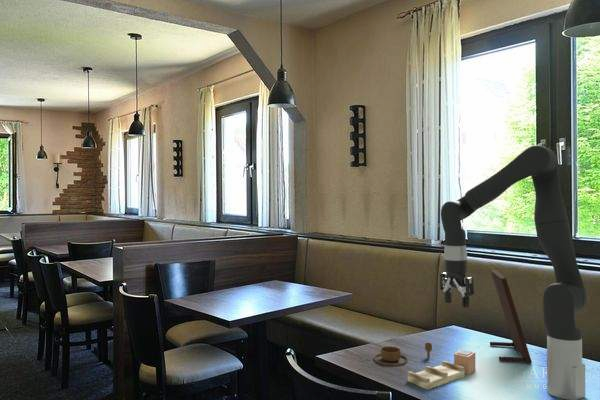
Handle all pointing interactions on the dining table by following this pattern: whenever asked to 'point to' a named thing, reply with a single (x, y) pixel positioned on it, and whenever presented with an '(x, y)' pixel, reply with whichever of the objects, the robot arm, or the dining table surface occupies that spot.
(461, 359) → the frame block
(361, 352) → the dining table surface
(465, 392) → the dining table surface
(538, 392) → the dining table surface
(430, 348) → the place setting
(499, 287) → the picture frame
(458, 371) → the light wooden ridged board
